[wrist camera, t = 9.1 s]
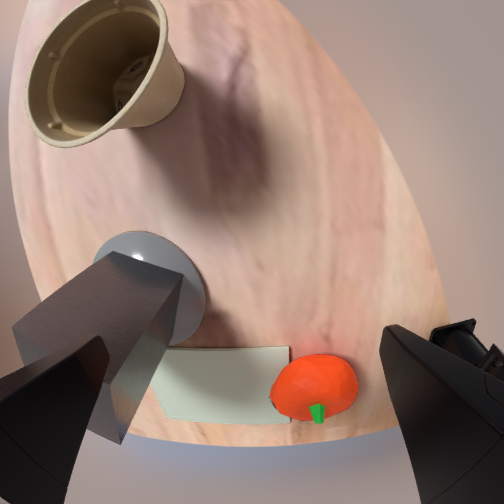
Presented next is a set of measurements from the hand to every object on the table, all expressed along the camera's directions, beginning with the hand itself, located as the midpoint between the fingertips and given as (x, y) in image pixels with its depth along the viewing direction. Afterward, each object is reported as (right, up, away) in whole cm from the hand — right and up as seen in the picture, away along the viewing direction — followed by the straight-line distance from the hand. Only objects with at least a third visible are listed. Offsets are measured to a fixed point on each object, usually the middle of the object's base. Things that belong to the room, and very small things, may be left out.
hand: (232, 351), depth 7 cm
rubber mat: (-3, -12, +18) cm, 22 cm away
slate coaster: (-9, -1, +15) cm, 17 cm away
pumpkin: (+6, -8, +16) cm, 19 cm away
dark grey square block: (-9, -1, +14) cm, 17 cm away
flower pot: (-7, +15, +9) cm, 19 cm away
